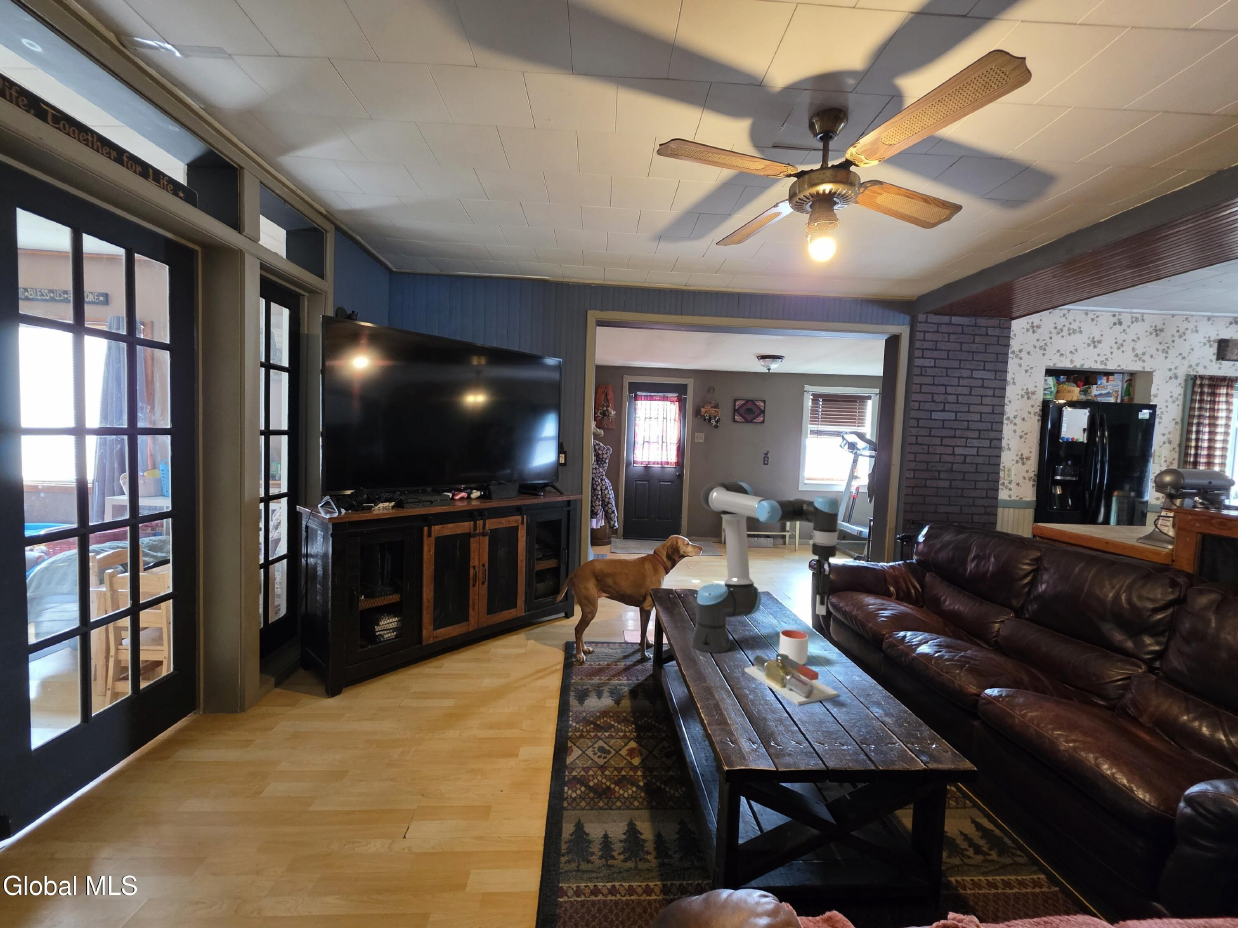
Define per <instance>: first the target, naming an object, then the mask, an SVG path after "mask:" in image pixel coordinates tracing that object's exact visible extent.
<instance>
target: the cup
mask: <svg viewBox="0 0 1238 928" xmlns="http://www.w3.org/2000/svg"><path fill="white" fill-rule="evenodd" d="M808 646H809V635H808V634H807V633H805V632H803V631H800V630H795V629H784V630H781V631H780V632H779V646H778V647H779V648H778V654H785V655H788V656H789V658H790V659H792V660H794V661H796V662H797V663H799V664H801V665H805V664H806V663H807V661H808V650H809V647H808Z"/></svg>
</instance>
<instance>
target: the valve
mask: <svg viewBox="0 0 1238 928" xmlns="http://www.w3.org/2000/svg"><path fill="white" fill-rule="evenodd" d="M752 664H753V667H754V666H755V667H756V668H758V669H760V670H761V671H763V674H764V675H765V676H766V679H767V680H769V681H770V682H772V683H773V684H775V685H777V686H778V687H780V688H782V687H786V688H787V689H788V690H794V691H795V692H797V693H799V694H800V695H802V696H803V697H805V698H809V697H810V696H811V695H812V694H813V686H812V685H811V684H809V683H808V682H806V681H804V680H802V679H801V676H800V675H799V674H797V671H795V670H793V669H792V668H790V667H788V666H786V665H785V664H781V663H778V662H777V661H776V659H772V658H771V659H769V658H766V657H764V656H763V655H761V654H760V655H759V654H758V655H756V656H755V657H754V658H753V660H752Z"/></svg>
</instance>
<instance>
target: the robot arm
mask: <svg viewBox="0 0 1238 928" xmlns="http://www.w3.org/2000/svg"><path fill="white" fill-rule="evenodd" d="M700 500H701V504H702V505H703V507H704V508H705V509H708V510H710V511H713V512H719V513H720V516H721V518H723V520H724V529H725V530H724V531H725V546H726V548H725V549H726V564H727V565H726V568H727V578H726V580H725V581H724V584H720V583H717V584H714V583H711V584H705V585H702V586H701V587H700V588H698V591H697V597H696V603H697V604H696V625H695V628H694V631H693V633H692V636H691V640H690V641H691V642H690V645H691V647H693V648H694V649H696V650H698V651H701V652H705V653H713V654H717V653H724V652H727V651H729V650H730V647H731V641H730V637H729V633H728V629H727V619H730V618H737V617H738V618H739V617H747V616H751V615H754V614H755V613H757V611H758V610H759V609H760V607H761V604H762V603H761V602H762V595H761V591H759V588H758V587H757V586H755V583H754V581H753V580H752V579H751V577H750V566H749V565H750V564H749V563H750V562H749V551H748V550H749V548H748V533H747V517H751V518H755V519H757V520H759V521H760V522H761V523H763V524H775V523H776V524H777V523H795V522H796V523H797V522H799V523H800V522H804V523H808V524H809V523H811V524H812V530H813V531H812V532H811V533H810V535H811V536H812V542H813V543H812V544H811V545H812V546H811V554H812V555H814V556H816V557H817V559H816V560H815V566H816V567H815V590H816V593H815V594H816V607H815V608H816V610H815V613H816V615H822V616H823V615H824V616H826V613H827V612H826V611H827V596H829V591H830V582H831V580H830V579H831V574H832V568H831V567H832V562H830V558H834V557H836V556H837V545H836V544H838V520H839V512H840V510H839V500H838V498H836V497H833V496H819V495H817V496H815V497H814V500H807V499H803V498H790V499H771V498H765V497H760V496H755V493H754V491H753V489H752V488H751V487H750V486H749V485H748V484H747V483H745V482H740V481H733V482H731V481H730V482H729V481H728V482H726V481H725V482H724V481H723V482H720V481H719V482H717V481H715V482H710V483H707V485H705V486H704V487H703V489H702V491H701V492H700Z"/></svg>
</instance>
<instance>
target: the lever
mask: <svg viewBox="0 0 1238 928" xmlns="http://www.w3.org/2000/svg"><path fill="white" fill-rule="evenodd" d="M775 660H776V661H777V662H778V663H781V664H785V665H786V666H788V667H790V668H792V669H793V670H795V671H797V673H798V674H800V675H802V676H803V677H805V678H807V679H809V680H810V681H812V680H816V681H818V680H819V676H820V675H819V672H818V671H815V670H814V669H813V668H811V667H808V666H807V665H805V664H803V665H801V664H799V663H797V662H796V661H794V660H792V659H790V658H789V656H788V655H785V654H779V653H776V656H775Z"/></svg>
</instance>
